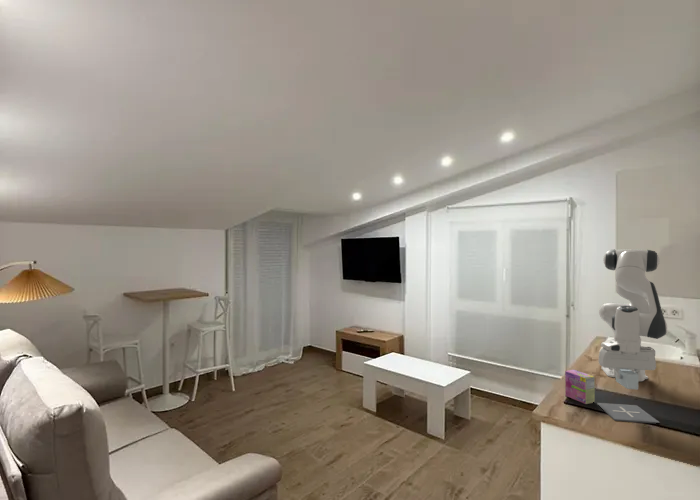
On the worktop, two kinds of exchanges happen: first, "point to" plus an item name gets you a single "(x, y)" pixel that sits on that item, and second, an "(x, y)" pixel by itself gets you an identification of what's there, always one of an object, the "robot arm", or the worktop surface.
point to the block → (628, 379)
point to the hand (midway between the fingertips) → (626, 379)
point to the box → (580, 386)
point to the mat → (627, 413)
